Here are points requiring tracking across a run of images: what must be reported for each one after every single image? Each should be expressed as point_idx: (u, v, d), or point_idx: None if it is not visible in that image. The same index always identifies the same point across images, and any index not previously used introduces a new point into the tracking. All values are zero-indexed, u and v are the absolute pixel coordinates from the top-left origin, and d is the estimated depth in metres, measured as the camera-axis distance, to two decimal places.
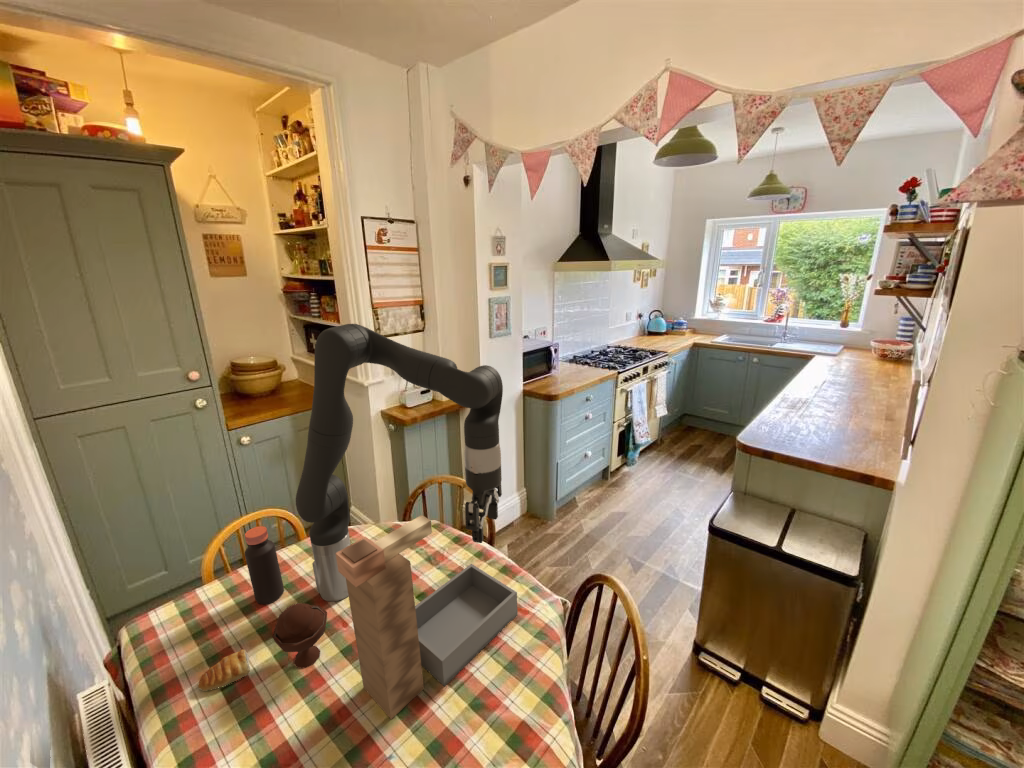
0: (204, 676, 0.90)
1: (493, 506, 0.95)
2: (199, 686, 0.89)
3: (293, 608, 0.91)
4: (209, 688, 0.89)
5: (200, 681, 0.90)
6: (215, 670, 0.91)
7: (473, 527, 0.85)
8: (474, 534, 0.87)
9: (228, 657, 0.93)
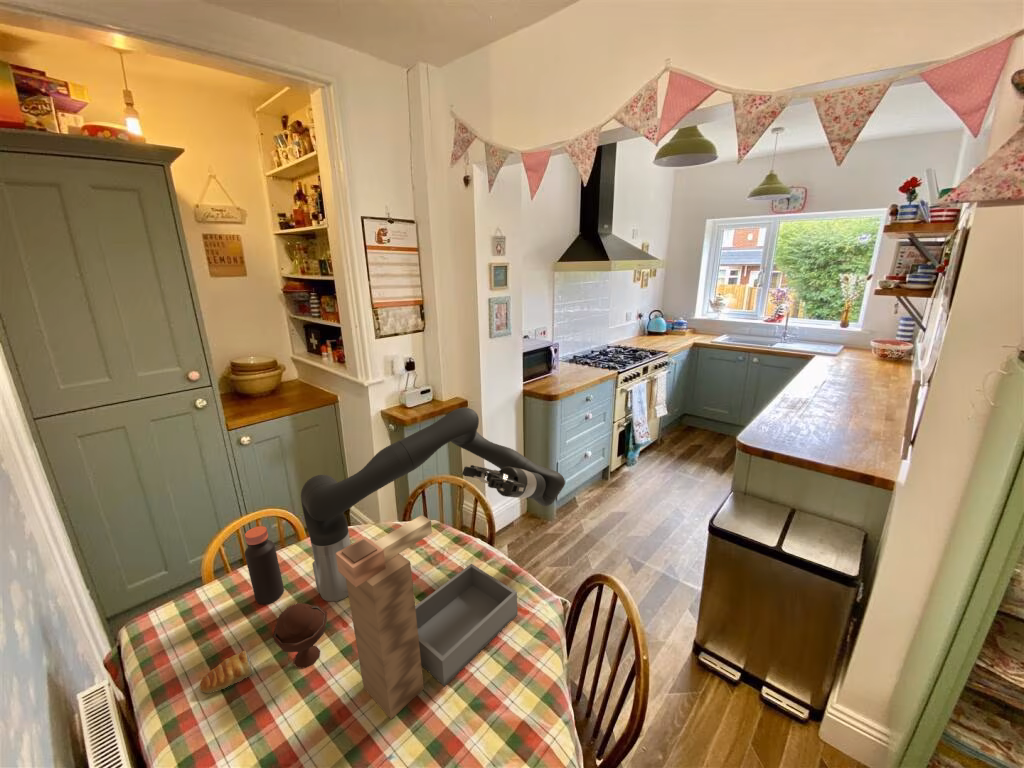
0: (205, 678, 0.90)
1: (473, 474, 1.04)
2: (201, 688, 0.88)
3: (293, 608, 0.91)
4: (211, 690, 0.89)
5: (201, 683, 0.89)
6: (217, 671, 0.91)
7: (512, 490, 0.99)
8: (499, 483, 0.98)
9: (229, 659, 0.93)
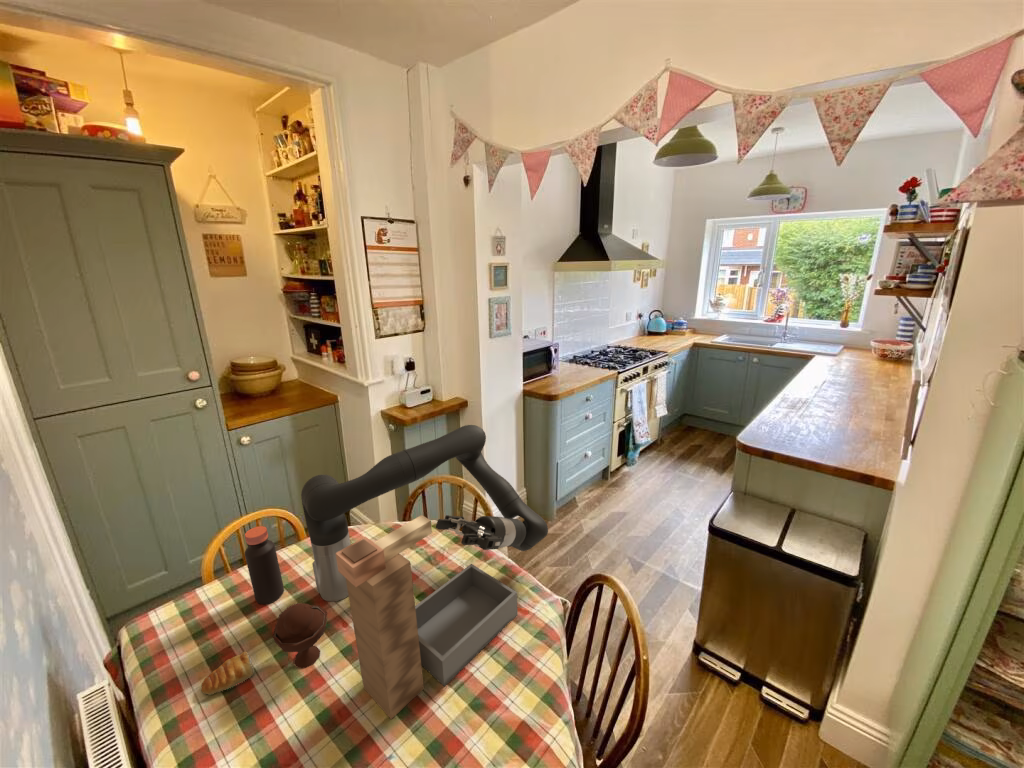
0: (207, 680, 0.90)
1: (448, 526, 0.99)
2: (202, 690, 0.88)
3: (293, 608, 0.91)
4: (213, 691, 0.88)
5: (203, 685, 0.89)
6: (218, 673, 0.90)
7: (487, 546, 0.94)
8: (474, 540, 0.93)
9: (230, 660, 0.93)
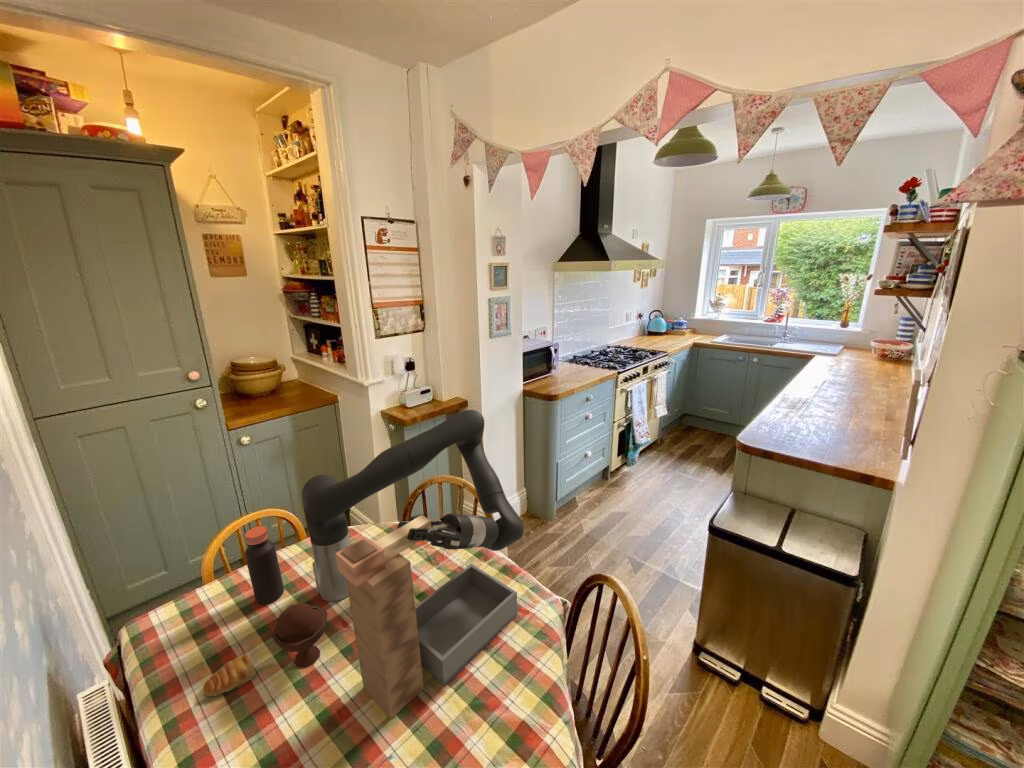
0: (209, 682, 0.89)
1: None
2: (205, 692, 0.88)
3: (293, 608, 0.91)
4: (215, 693, 0.88)
5: (205, 687, 0.88)
6: (220, 674, 0.90)
7: (436, 542, 0.85)
8: (421, 535, 0.84)
9: (232, 661, 0.92)
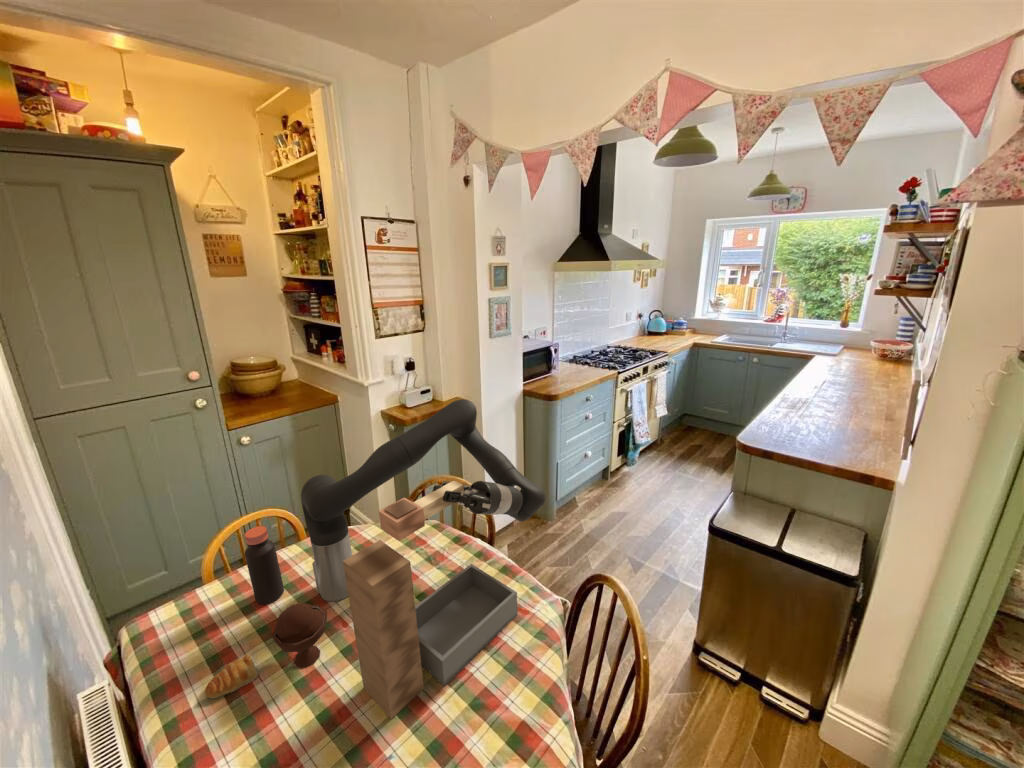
0: (211, 684, 0.89)
1: None
2: (207, 694, 0.87)
3: (293, 608, 0.91)
4: (218, 695, 0.88)
5: (207, 689, 0.88)
6: (222, 676, 0.90)
7: (469, 504, 0.90)
8: (456, 497, 0.89)
9: (234, 663, 0.92)
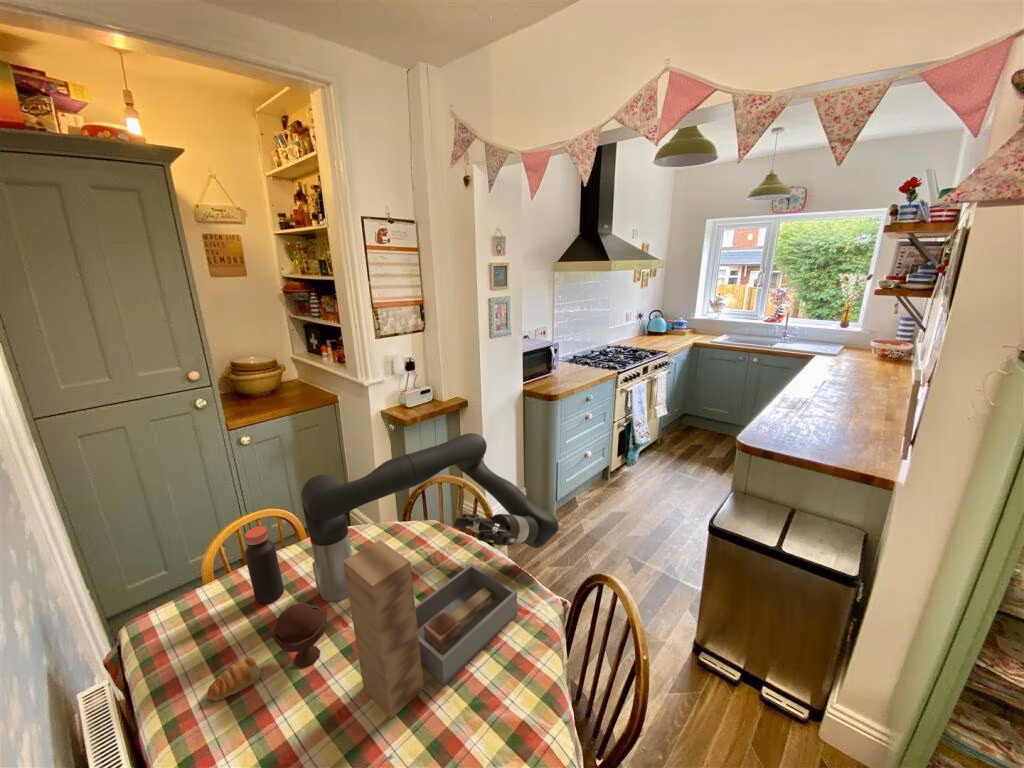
0: (213, 686, 0.88)
1: (465, 524, 1.03)
2: (210, 697, 0.87)
3: (293, 608, 0.91)
4: (221, 697, 0.87)
5: (209, 692, 0.87)
6: (225, 678, 0.89)
7: (501, 541, 0.98)
8: (489, 536, 0.97)
9: (236, 664, 0.92)
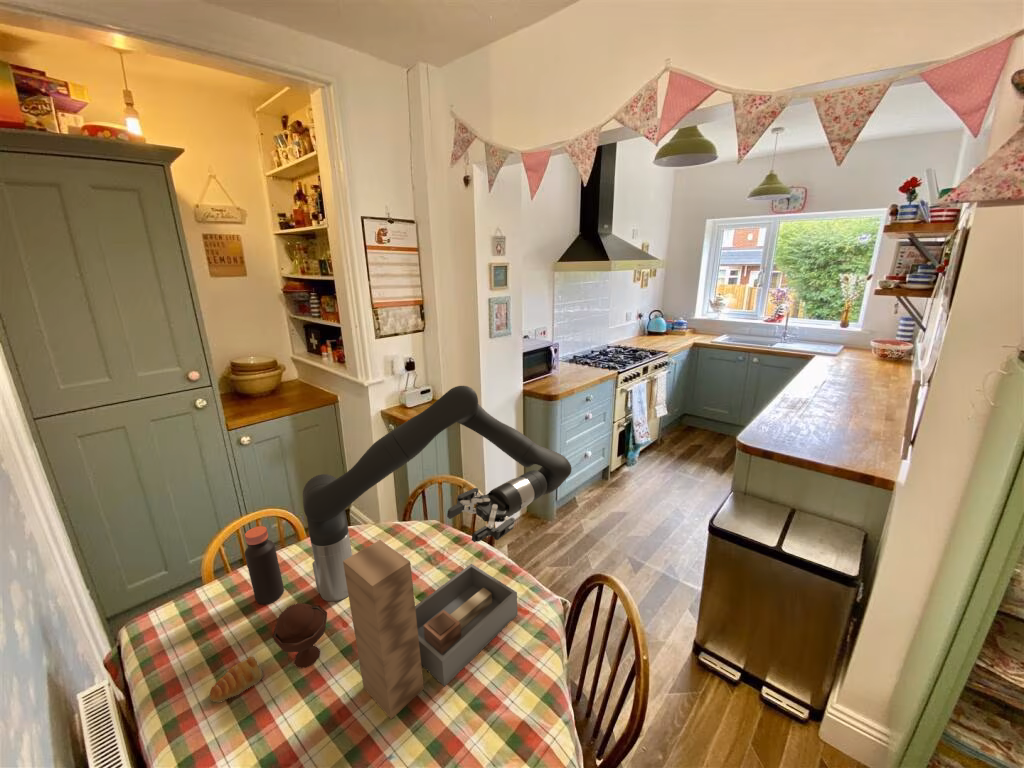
0: (215, 688, 0.88)
1: (460, 511, 0.98)
2: (212, 698, 0.86)
3: (293, 608, 0.91)
4: (223, 698, 0.87)
5: (212, 693, 0.87)
6: (227, 679, 0.89)
7: (499, 535, 0.93)
8: (484, 535, 0.92)
9: (237, 665, 0.91)
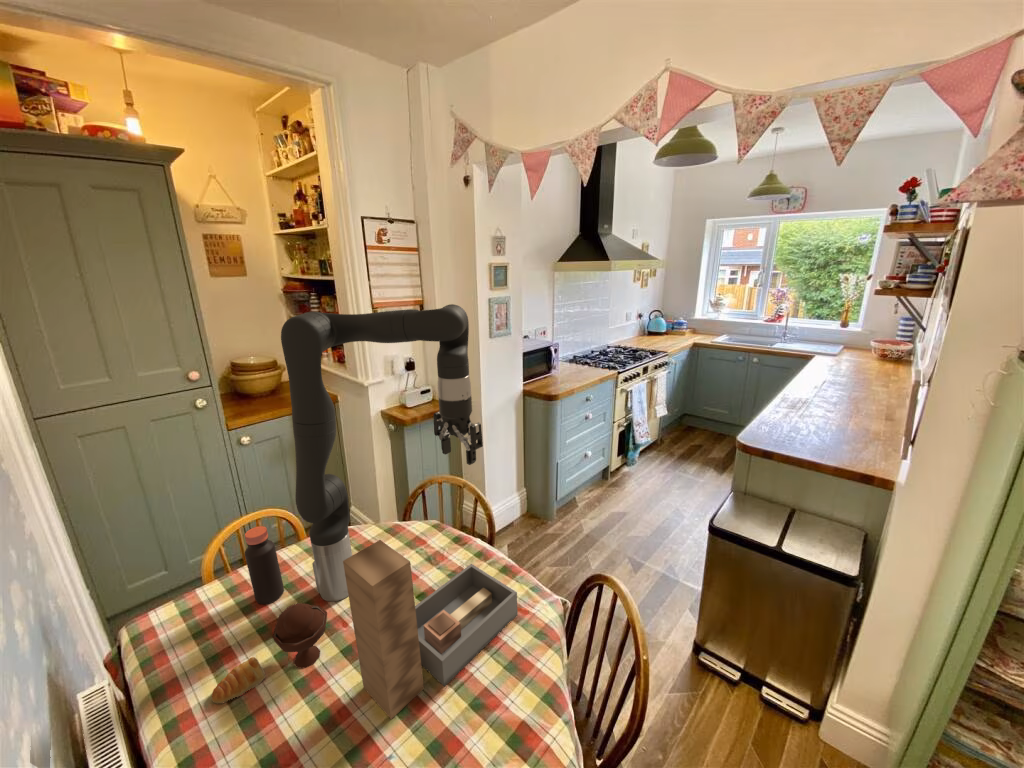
0: (217, 689, 0.88)
1: (448, 440, 1.04)
2: (214, 699, 0.86)
3: (293, 608, 0.91)
4: (226, 699, 0.87)
5: (214, 695, 0.87)
6: (229, 680, 0.89)
7: (479, 444, 0.96)
8: (473, 455, 0.98)
9: (239, 666, 0.91)
